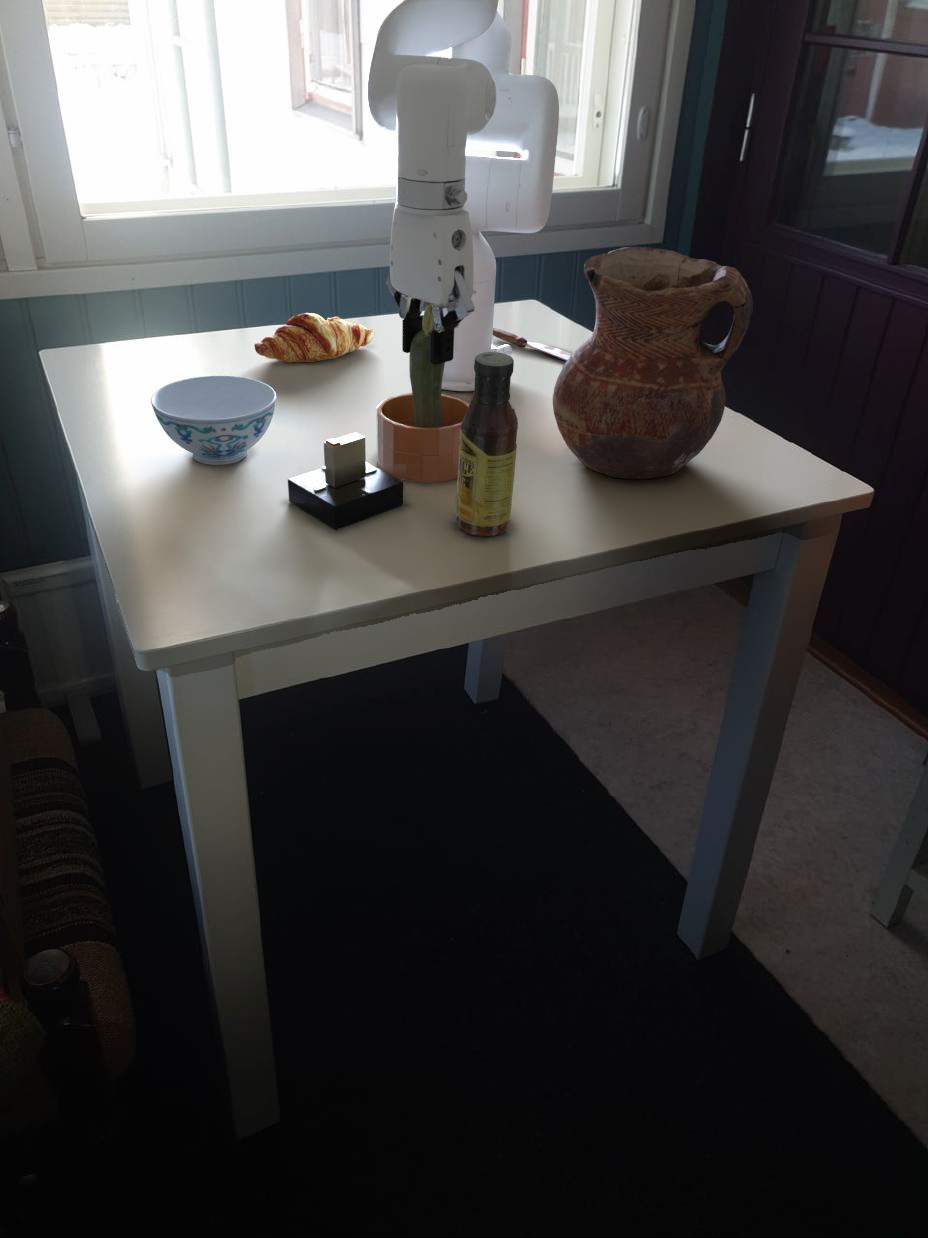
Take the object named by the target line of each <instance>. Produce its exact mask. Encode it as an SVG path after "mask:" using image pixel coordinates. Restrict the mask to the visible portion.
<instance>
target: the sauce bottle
mask: <svg viewBox="0 0 928 1238" xmlns="http://www.w3.org/2000/svg"><path fill="white" fill-rule="evenodd" d="M514 364H515V360H514V358H513V357H512V355H511V356H509V355H507V354H503V353H499V352H486V353H485V352H484V353H481V354H479V355H477V356H476V357H475V362H474V371H475V389H474V391H473V394H472V395H473V396H472V398H471V400H470V402H469V404H470V405H469V407H468V410H467V412H466V414H465V417H464V419H463V422H462V424H461V427H460V442H459V459H458V478H457V482H456V502H455V503H456V504H455V505H456V506H455V513H456V524H457V525H458V527H459V529H461V530H462V531H464V533H466V534H467V535H470V536H476V537H477V536H478V537H495V536H498V535H499V536H500V535H501V534H503V533H505V531H506V530H507V529H508V527H509V523H510V519H511V516H512V515H511V514H512V503H513V493H514V484H515V483H514V482H515V474H516V473H515V472H516V471H515V470H516V461H517V451H518V449H517V448H518V444H517V436H518V429H519V426H518V425H519V422H518V417H517V414H516V410H515V409H514V408H513V407H512V404H511V402H510V399H511V392H510V390H511V381H512V378H511V377H512V375H513V373H514V367H515V365H514Z"/></svg>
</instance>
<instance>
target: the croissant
mask: <svg viewBox="0 0 928 1238" xmlns="http://www.w3.org/2000/svg"><path fill="white" fill-rule="evenodd" d="M374 338H375V331H374V329H372V328H369V329H368V328H367V327H365V326H363V325H362V324H360V323H358V322H355V323H351V322H349V321H345V320H344V319H342V318H340V317H339V316H332V317H327V319H326V320H325V319H324V317H322V316H321V315H319V314H318V313H312V312H311V313H310V312H305V313H299V314H295V315H293V316H291V317H290V318H289V319H287V320H286V324H285V325H282V326H280V327H278V328H277V329H275V332H274V333H273V335H266V336H265V337H264V338H263V339H262V340H261V341H260V342H256V343H254V350H255V352H256V354H258V355H259V356H262V357H265V358H266V359H271V360H278V361H281V362H285V363H286V362H287V363H290V364H291V363H292V364H293V363H296V362H298V363H301V362H303V363H304V362H305V363H312V362H313V363H314V362H319V361H324V360H333V359H336V358H339V357H342V356H344V355H345V354H347V353H352V352H354V351H356V350H357V349H359V348H360V347H365V346H368V345H369V344H370V343H372V342H373V340H374Z"/></svg>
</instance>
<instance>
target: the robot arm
mask: <svg viewBox="0 0 928 1238" xmlns="http://www.w3.org/2000/svg"><path fill="white" fill-rule="evenodd" d="M498 6H499V0H403V1H402V2H400V3H399V4H398V5H397V6H395V8H393V9H392V10H391V11H390V12H389V14H387V16H386V17H385V18H384V20H383V21H382V23H381V25H380V26H379V29H378V31H377V34H376V37H375V41H374V45H373V49H372V53H371V54H372V55H371V58H370V63H369V67H368V72H367V80H366V90H365V92H366V103H367V109H368V112H369V115H370V116H371V119H372V120H373V122H374V123H375V124H376V125H377V126H379V127H380V128H383V129H385V130H389V131H395V132H396V202H395V204H394V208H393V209H394V210H393V216H392V222H391V232H390V245H389V274H388V276H387V278H386V280H385V285H386V286H387V288H388V290H389V291H390V292H391V294H392V296H393V298H394V301H395V302H396V305H397V306H398V316H399V318H400V319H402V321H401V322H402V323H401V324H402V329H401V330H402V332H401V333H402V334H401V335H402V336H401V337H402V338H401V339H402V341H401V343H402V344H401V345H402V347H401V348H402V352H403V353H404V354H405V353H406V354H410V348H411V343H412V340H413V338H414V337H415V336H416V334H417V333H418V332H420V331H421V330H423V328H422V319H423V316H424V314H422V313H423V309H424V303H426V304H427V303H430V304H432V309H433V317H434V325H435V330H433V331H431V355H430V361H431V363H432V364H434V365H437V364H441V363H444V362H445V366H444V372H443V379H442V386H441V390H444V391H445V390H447V391H453V392H474V389H475V371H474V362H475V357H476V356H477V355H479V354H481V353H484V352H485V353H486V352H499V353H503V354H507V355H509V356H511V357H512V354H513V348H512V346H511V345H510V344H503V345H500V346H498V347H496V346H494V344H493V335H492V334H493V328H494V316H495V314H494V313H495V300H496V299H495V298H496V281H497V279H496V278H497V261H496V257H495V254H494V251H493V249H492V247H490V245H489V242H487V240H486V239H485V237H484V236H483V234H482V233H481V232H490V231H491V232H500V233H501V232H503V233H515V234H535V233H538V232H540V231H542V229H543V228H545V226H546V224H547V222H548V219H549V216H550V213H551V212H550V211H551V207H552V197H553V189H554V187H553V186H554V177H555V176H554V175H555V167H556V157H557V156H556V155H557V145H558V137H559V135H558V134H559V125H560V123H559V122H560V120H559V119H560V101H559V95H558V90H557V88H556V86H555V84H554V83H553V82H552V81H551V80H550V79H548V78H546V77H544V76H540V75H534V74H520V73H518V74H517V73H511V72H510V66H511V65H510V64H511V55H512V45H513V40H512V35H511V32H510V30H509V28H508V25H507V24H506V22H505V21H504V19H503V18H502V16H501V14H500V13H499V11H498V8H499V7H498ZM448 49H449V52H448V57H442V56H430V55H431V54H434V53H437V52H441V51H445V50H448ZM467 149H473V150H474V149H475V150H487V151H500V152H513V153H514V152H515V153H519V154H520V155H521V156H522V158H517V157H515V158H514V157H501V156H500V157H499V156H491V155H479V154H477V155H476V154H467Z"/></svg>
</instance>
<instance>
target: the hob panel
mask: <svg viewBox="0 0 928 1238" xmlns="http://www.w3.org/2000/svg"><path fill="white" fill-rule="evenodd" d="M404 486H405V483H404V480H402V479H398V478H395V477H393V476H391V475H389V474H387V473H385V472H384V471H382V470H381V469H380V468H379V467H376V466H374V465H372V464H370V463H368V462H366V477H364V478H362V479H359V480H356V481H353V482H350V483H347V484H344V485H342V486H339V487H336V488H334V487H332V486H331V485H329V484H327V483H326V482H325V465H323V466H321V468H317V469H314V470H310V471H308V472H305V473H302V474H299V475H295V476H292V477H290V478H287V489H288V492H287V493H288V503H290V504H291V505H293V506H294V507H297V508H298V509H299V510H301V511H303V512H305V513H306V514H308V515H309V516H311V517H313V518H314V519H316V520H317V521H319V522H321V523H323V524H324V525H326V526H328V527H329V528H331V529H332V530H335V531H338V530H341V529H343V528H347V527H349V526H351V525H355V524H357V523H359V522H362V521H364V520H367V519H370V518H373V517H375V516H378V515H380V514H383V513H385V512H388V511H392V510H393V509H396V508H397V509H398V508H400V507H401V506H404V505H405V503H404V502H405V501H404V498H405V497H404V495H405V493H404V492H405V491H404V489H405V487H404Z"/></svg>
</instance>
